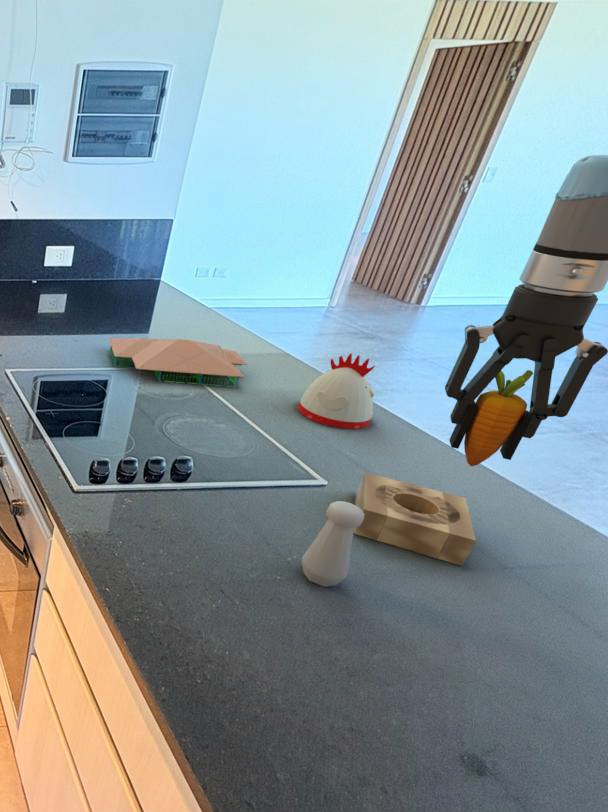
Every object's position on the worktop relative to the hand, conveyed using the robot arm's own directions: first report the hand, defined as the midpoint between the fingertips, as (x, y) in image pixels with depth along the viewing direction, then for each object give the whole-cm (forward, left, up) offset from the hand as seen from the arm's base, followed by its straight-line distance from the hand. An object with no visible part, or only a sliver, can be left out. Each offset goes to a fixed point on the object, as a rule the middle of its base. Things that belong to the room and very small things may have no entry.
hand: (479, 449), depth 87 cm
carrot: (0, 0, -3) cm, 3 cm away
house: (+51, -62, -21) cm, 83 cm away
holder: (+2, -9, -20) cm, 23 cm away
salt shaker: (+13, +14, -21) cm, 28 cm away
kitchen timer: (+14, -53, -21) cm, 59 cm away
